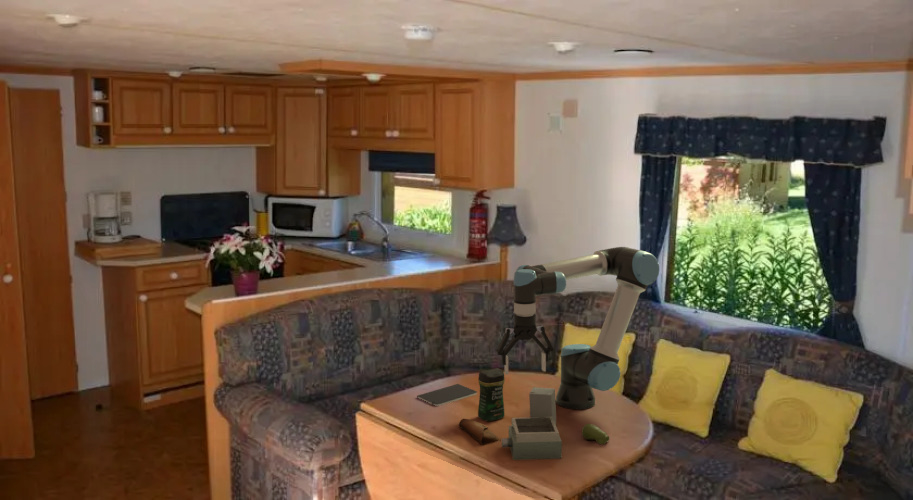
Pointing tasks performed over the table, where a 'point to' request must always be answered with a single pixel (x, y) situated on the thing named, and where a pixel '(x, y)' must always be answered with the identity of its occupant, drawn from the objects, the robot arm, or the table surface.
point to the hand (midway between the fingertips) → (525, 371)
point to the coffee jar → (491, 395)
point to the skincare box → (542, 403)
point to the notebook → (447, 395)
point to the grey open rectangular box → (533, 439)
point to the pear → (594, 433)
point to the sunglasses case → (479, 431)
